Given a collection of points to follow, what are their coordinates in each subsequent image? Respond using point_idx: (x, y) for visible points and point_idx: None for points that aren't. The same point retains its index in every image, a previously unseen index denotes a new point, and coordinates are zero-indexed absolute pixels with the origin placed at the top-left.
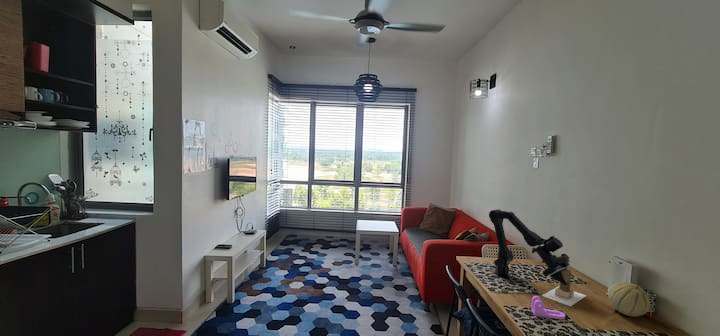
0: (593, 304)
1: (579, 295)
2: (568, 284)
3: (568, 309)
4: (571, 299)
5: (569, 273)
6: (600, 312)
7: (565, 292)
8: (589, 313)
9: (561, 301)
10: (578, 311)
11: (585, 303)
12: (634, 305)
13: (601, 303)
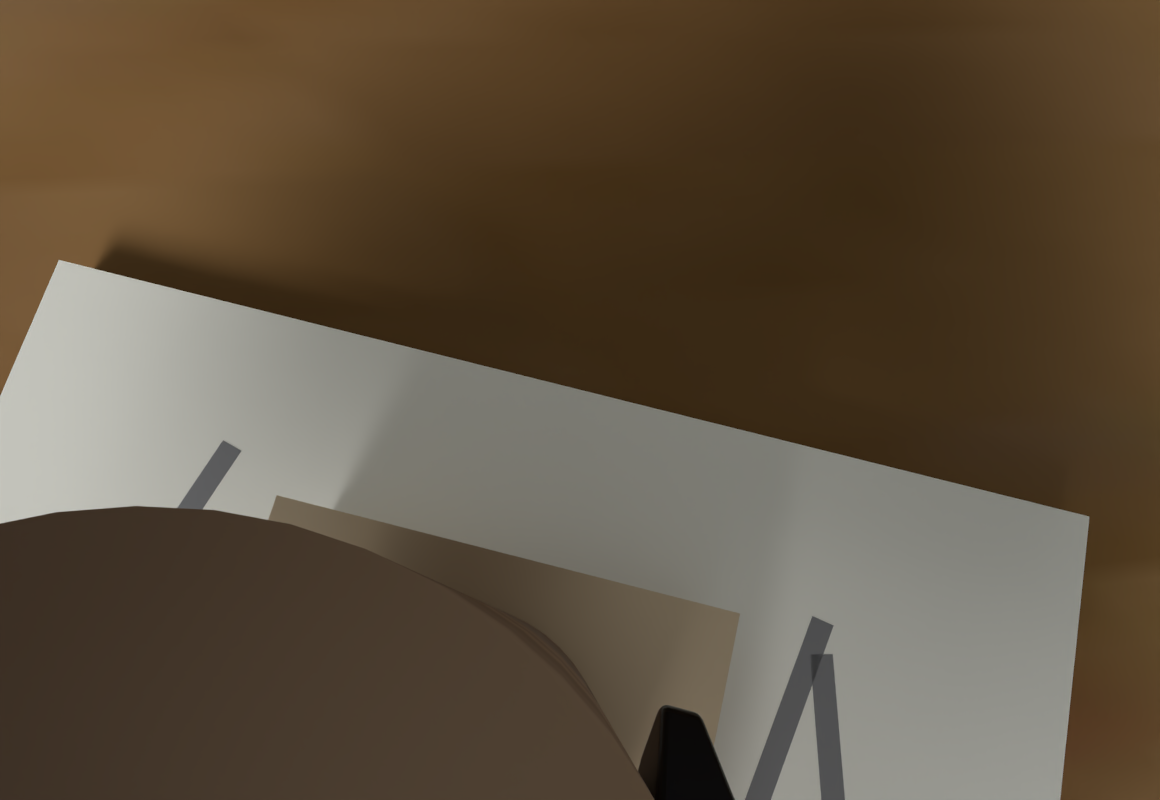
0: (424, 139)
1: (176, 401)
2: (559, 651)
3: (1156, 550)
4: (622, 542)
5: (531, 653)
6: (757, 22)
7: (695, 708)
8: (985, 180)
9: (970, 747)
10: (1074, 362)
11: (493, 275)
12: None
13: (244, 17)
